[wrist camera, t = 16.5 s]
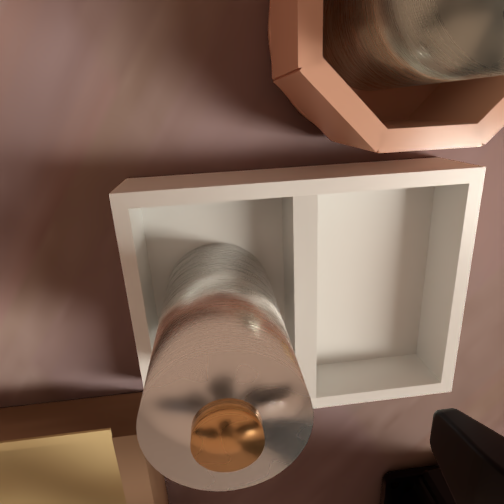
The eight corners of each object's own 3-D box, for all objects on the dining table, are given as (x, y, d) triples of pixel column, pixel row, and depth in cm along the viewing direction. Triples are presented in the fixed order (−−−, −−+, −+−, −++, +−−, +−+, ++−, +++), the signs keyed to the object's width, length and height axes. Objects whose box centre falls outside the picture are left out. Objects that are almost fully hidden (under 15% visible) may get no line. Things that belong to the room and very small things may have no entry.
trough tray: (416, 351, 19) (451, 391, 16) (159, 380, 17) (150, 428, 15) (438, 157, 15) (486, 166, 13) (126, 178, 14) (108, 193, 12)
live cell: (271, 329, 16) (318, 498, 9) (173, 339, 16) (146, 522, 9) (267, 238, 15) (320, 356, 8) (160, 247, 15) (117, 378, 8)
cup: (455, 132, 15) (555, 141, 11) (271, 144, 15) (298, 158, 10) (484, -101, 13) (628, -209, 8) (263, -99, 12) (295, -216, 8)
